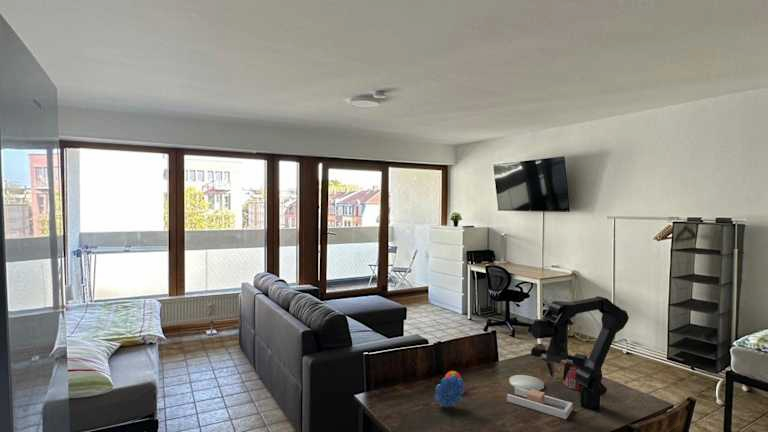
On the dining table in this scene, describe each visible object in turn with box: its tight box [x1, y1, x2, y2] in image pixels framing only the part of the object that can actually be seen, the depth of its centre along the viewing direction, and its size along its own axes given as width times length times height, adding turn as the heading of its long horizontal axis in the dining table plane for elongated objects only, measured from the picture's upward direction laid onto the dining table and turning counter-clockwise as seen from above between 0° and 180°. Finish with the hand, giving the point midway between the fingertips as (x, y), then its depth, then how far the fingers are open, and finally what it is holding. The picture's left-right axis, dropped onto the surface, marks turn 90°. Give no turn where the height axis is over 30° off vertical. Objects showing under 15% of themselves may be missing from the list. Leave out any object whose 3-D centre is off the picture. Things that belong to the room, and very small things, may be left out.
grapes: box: [434, 375, 466, 408], centre depth 156 cm, size 12×7×12 cm, turn 96°
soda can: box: [563, 360, 582, 390], centre depth 174 cm, size 7×7×12 cm
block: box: [526, 389, 546, 405], centre depth 158 cm, size 5×5×4 cm
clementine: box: [444, 370, 462, 379], centre depth 171 cm, size 8×7×7 cm
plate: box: [508, 374, 545, 392], centre depth 176 cm, size 14×14×1 cm
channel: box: [506, 387, 573, 420], centre depth 157 cm, size 22×9×2 cm, turn 52°
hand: (558, 378), depth 153 cm, fingers open, 4 cm apart
